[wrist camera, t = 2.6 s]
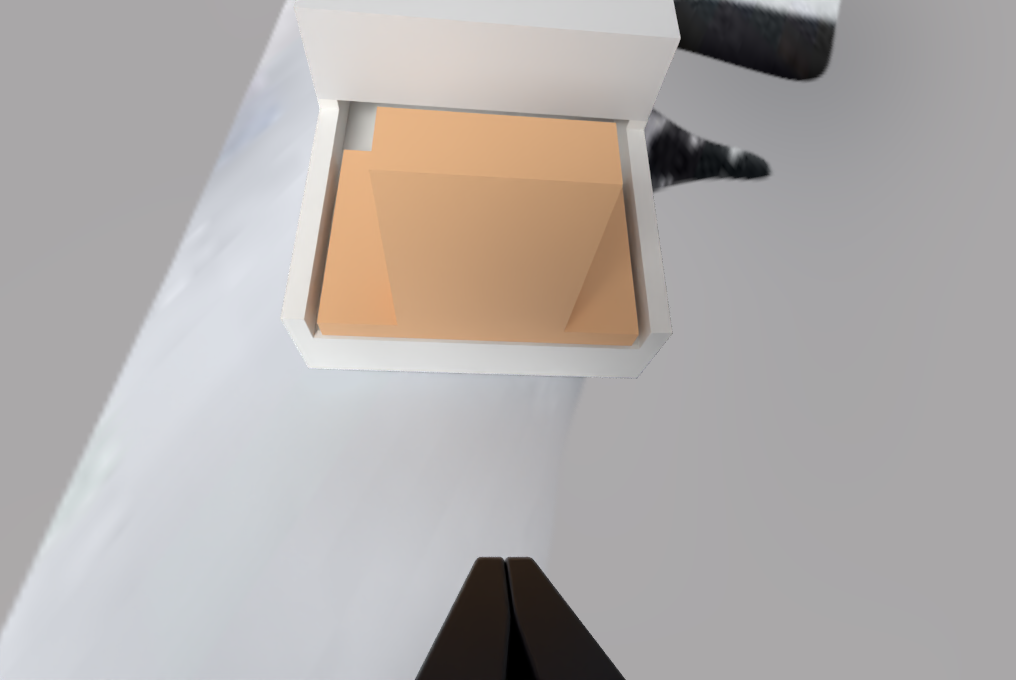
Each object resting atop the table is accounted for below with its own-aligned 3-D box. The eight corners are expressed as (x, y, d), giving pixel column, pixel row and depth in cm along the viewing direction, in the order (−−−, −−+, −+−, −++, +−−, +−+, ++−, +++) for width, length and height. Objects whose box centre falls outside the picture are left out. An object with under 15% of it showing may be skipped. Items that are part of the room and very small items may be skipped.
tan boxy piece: (631, 345, 22) (735, 191, 14) (322, 335, 21) (243, 162, 13) (614, 182, 26) (689, -18, 18) (347, 166, 25) (297, -53, 17)
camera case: (637, 378, 25) (725, 266, 17) (308, 368, 24) (237, 243, 16) (600, 37, 35) (646, -139, 27) (363, 18, 34) (336, -172, 25)
